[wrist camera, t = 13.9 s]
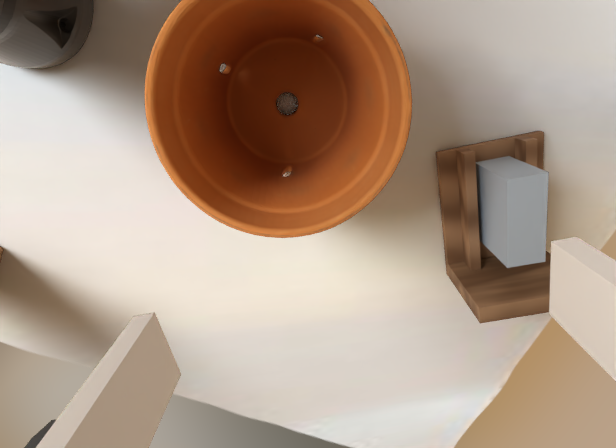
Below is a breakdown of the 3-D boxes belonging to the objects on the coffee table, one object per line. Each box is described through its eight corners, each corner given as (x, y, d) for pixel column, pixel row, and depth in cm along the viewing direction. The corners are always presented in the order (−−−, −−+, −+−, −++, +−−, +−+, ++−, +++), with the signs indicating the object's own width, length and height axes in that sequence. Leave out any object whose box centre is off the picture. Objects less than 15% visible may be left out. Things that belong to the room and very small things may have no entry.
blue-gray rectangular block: (474, 162, 44) (506, 179, 37) (508, 155, 44) (548, 172, 37) (477, 238, 48) (507, 267, 41) (509, 232, 48) (545, 261, 40)
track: (435, 151, 45) (471, 174, 35) (538, 130, 44) (607, 147, 34) (446, 273, 51) (480, 323, 41) (537, 257, 50) (594, 304, 40)
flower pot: (415, 54, 41) (466, 44, 27) (332, 217, 48) (339, 273, 35) (235, -40, 38) (191, -104, 24) (174, 148, 45) (114, 180, 32)
